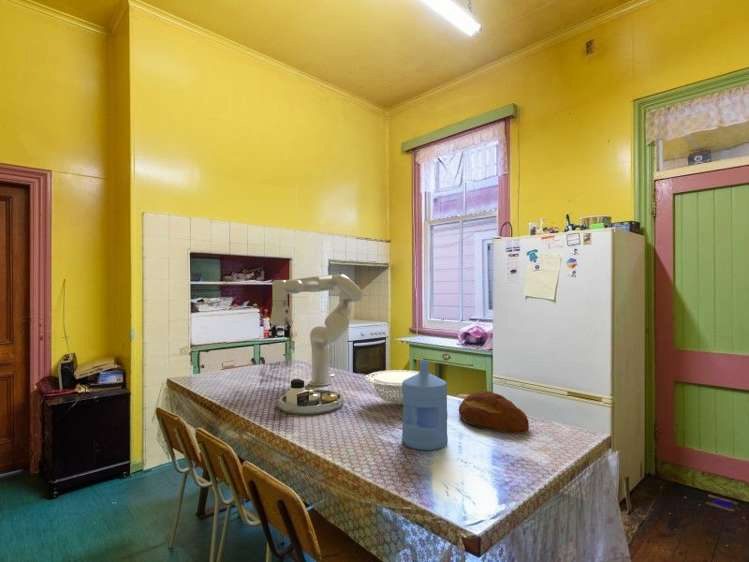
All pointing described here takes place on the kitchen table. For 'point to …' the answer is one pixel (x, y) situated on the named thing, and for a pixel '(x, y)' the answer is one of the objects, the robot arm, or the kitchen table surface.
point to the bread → (493, 413)
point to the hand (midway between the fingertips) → (280, 336)
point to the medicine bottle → (297, 393)
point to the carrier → (314, 403)
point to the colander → (390, 383)
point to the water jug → (424, 410)
